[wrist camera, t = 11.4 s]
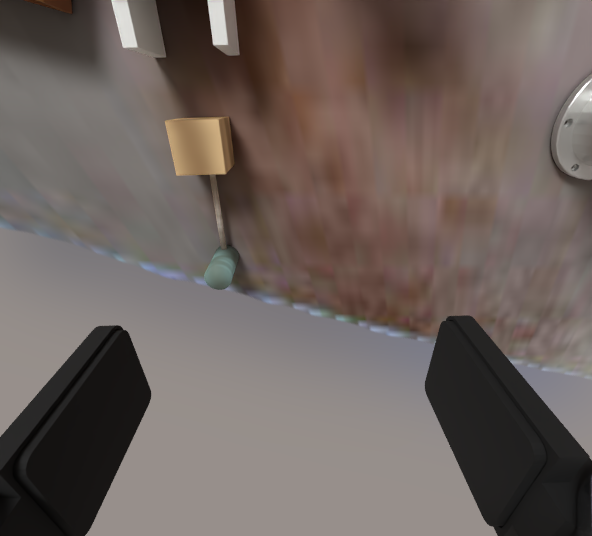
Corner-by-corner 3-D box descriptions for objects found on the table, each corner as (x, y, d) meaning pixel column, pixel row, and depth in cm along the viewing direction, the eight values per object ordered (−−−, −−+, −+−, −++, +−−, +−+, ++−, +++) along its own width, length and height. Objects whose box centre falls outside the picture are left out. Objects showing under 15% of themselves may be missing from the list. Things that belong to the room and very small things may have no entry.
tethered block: (228, 116, 33) (217, 119, 28) (246, 265, 42) (240, 289, 37) (183, 117, 33) (162, 121, 28) (210, 266, 42) (199, 290, 37)
